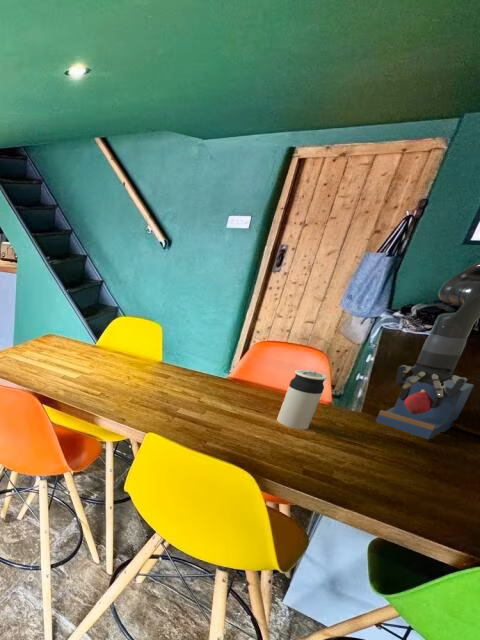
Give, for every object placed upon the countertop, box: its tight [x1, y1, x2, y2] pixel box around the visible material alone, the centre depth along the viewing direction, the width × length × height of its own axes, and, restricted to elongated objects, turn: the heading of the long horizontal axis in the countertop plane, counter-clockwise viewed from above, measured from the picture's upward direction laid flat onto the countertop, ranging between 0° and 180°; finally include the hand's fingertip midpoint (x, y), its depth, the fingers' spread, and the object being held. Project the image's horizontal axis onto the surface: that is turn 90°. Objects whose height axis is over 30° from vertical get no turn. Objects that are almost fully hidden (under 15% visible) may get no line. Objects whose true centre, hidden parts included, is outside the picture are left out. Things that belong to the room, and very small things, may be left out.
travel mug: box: [276, 369, 328, 430], centre depth 123 cm, size 8×8×18 cm
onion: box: [404, 390, 433, 414], centre depth 121 cm, size 6×6×8 cm
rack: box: [375, 375, 475, 439], centre depth 124 cm, size 22×12×14 cm, turn 118°
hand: (417, 403), depth 121 cm, fingers closed on onion, 6 cm apart
